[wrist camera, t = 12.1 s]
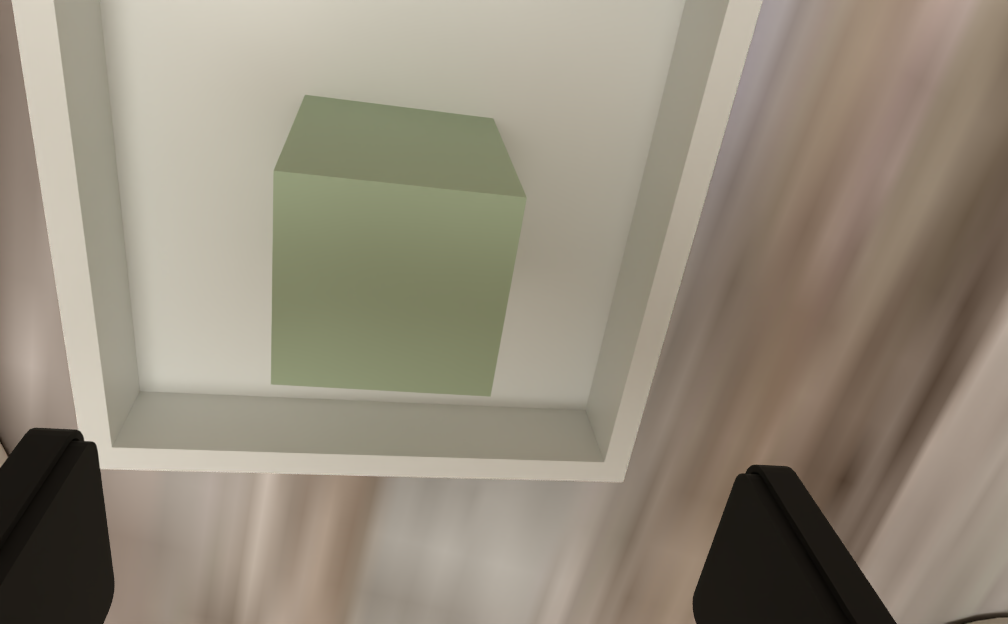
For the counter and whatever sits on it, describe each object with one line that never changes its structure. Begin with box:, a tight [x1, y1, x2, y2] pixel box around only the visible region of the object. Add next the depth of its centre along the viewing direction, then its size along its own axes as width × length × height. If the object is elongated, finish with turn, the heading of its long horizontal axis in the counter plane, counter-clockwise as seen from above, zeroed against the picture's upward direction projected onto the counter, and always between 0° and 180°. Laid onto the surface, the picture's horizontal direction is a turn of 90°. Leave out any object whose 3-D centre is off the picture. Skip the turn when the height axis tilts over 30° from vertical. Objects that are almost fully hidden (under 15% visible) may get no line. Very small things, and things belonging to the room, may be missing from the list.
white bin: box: [12, 0, 763, 482], centre depth 20 cm, size 16×16×4 cm
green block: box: [271, 95, 527, 397], centre depth 19 cm, size 5×5×6 cm
